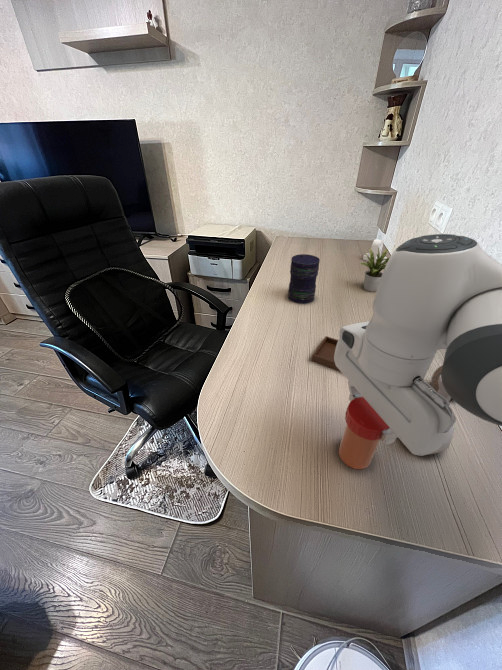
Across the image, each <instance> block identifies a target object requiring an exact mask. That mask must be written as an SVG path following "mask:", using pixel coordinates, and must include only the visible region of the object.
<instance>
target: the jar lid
mask: <svg viewBox="0 0 502 670" xmlns="http://www.w3.org/2000/svg"><path fill="white" fill-rule="evenodd" d="M344 420H345V423H346V424H347V425H348V427H349V428H350V430H351V431H352V432H353V433H355V434H356V435H358V436H359V437H361V438H364V439H367V440H379V439H381V438H380V437H379V436H380V435H381V431H384V430H387V429H389V428H390V427H389V426H388V425H387V424H386V423H385V422H384V421H383V419H382V418H381V417H380V416H379V415H378V414H377V412H376V411H375V410H374V409H373V408H372V407H371V406H370V404H369V403H368V402H367V401H366V400H365V399H364V397H359V398H355V399H353V400H352V401H349V403H348V406H347V408H346V410H345V417H344Z"/></svg>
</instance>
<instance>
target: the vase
mask: <svg viewBox="0 0 502 670" xmlns="http://www.w3.org/2000/svg"><path fill="white" fill-rule="evenodd" d="M442 367H443V364H442V365H440V366H439V367H437V369H436V370H434V371H433V374H432V376H431V379H430V384H431V385H430V386H431V387H432V388H433V389H434V390H435V391H436V392H437V391H438V390H439V385H438V380H439V377H440V375H441V372H442Z"/></svg>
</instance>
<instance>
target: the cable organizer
mask: <svg viewBox="0 0 502 670" xmlns="http://www.w3.org/2000/svg"><path fill="white" fill-rule="evenodd" d="M384 243H385V241H384V240H383V239H378V238H375V239H374V240H373V242H372V245H371V248H370V249H371V250H372V252H373V253H374V263H375V264H376V259H377V254H378V247H379V252H380V256H381V255H382V250H383V247H384ZM365 253H366V254H367V255H368V256H369V258H371V257H370V252H365ZM366 254H363V256H362V260H363V261H366V262H370V261H369V259H368V258H367V256H366ZM386 258H388V257H386V256H385V257H384V259H386ZM384 261H385V260H383V261H382V262H381V263H383V262H384Z"/></svg>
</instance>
